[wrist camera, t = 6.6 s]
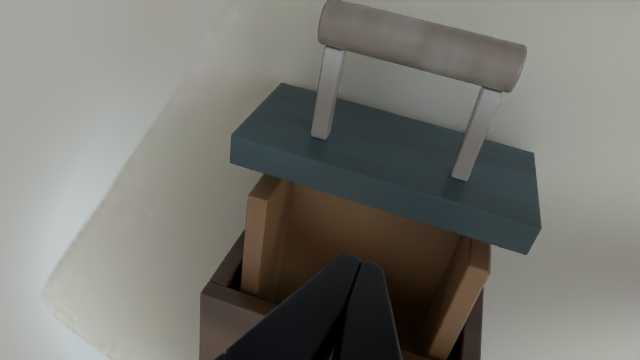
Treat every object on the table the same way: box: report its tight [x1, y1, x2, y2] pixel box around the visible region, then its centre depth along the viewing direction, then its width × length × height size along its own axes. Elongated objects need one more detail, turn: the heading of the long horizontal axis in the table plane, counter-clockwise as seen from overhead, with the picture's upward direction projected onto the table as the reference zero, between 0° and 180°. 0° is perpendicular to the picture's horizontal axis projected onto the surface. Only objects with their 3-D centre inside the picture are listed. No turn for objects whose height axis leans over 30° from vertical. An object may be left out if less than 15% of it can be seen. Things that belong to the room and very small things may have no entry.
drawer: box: [230, 0, 541, 360], centre depth 20 cm, size 17×10×5 cm, turn 171°
